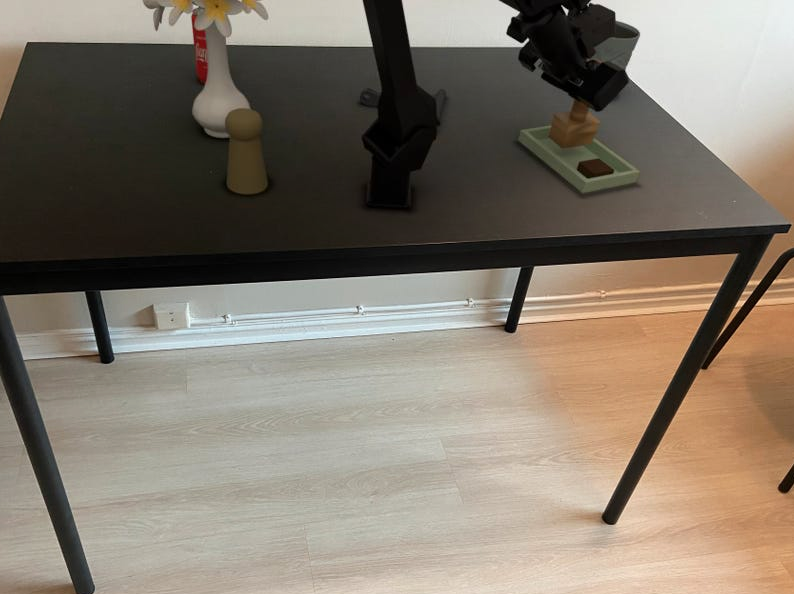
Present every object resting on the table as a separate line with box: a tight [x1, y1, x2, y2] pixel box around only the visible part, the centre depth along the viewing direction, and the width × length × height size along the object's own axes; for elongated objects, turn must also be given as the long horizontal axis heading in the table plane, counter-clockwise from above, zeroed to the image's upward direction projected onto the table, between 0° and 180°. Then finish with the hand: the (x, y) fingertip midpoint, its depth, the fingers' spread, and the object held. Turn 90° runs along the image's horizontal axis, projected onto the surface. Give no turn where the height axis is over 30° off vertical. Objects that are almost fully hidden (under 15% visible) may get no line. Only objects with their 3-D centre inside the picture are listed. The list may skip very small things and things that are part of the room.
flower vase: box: [142, 0, 269, 139], centre depth 108 cm, size 13×18×25 cm
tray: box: [518, 124, 641, 194], centre depth 116 cm, size 18×11×2 cm, turn 24°
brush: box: [548, 58, 603, 149], centre depth 111 cm, size 6×4×13 cm
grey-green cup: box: [586, 20, 641, 71], centre depth 134 cm, size 10×10×12 cm
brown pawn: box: [225, 108, 269, 195], centre depth 101 cm, size 6×6×11 cm
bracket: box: [359, 87, 447, 128], centre depth 126 cm, size 14×15×3 cm
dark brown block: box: [577, 158, 614, 179], centre depth 112 cm, size 4×4×2 cm
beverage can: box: [190, 7, 208, 85], centre depth 127 cm, size 5×5×12 cm
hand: (589, 100), depth 112 cm, fingers closed on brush, 2 cm apart
